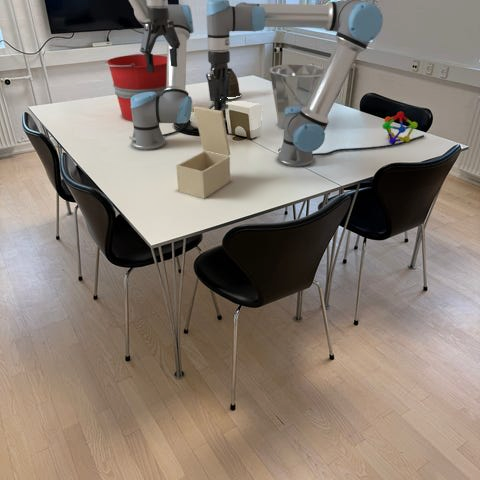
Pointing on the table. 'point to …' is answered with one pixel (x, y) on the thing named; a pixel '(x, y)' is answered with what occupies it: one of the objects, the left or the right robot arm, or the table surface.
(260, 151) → the table surface
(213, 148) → the lid
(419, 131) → the table surface
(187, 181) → the chest
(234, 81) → the bell
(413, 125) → the educational toy
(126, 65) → the bucket
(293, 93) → the bucket
